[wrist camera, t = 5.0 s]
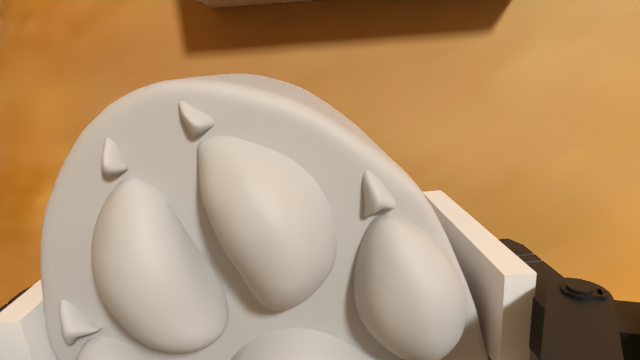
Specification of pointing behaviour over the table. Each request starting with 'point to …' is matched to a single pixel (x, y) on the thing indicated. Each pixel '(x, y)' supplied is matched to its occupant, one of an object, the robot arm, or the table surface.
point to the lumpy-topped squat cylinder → (245, 236)
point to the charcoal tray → (243, 2)
